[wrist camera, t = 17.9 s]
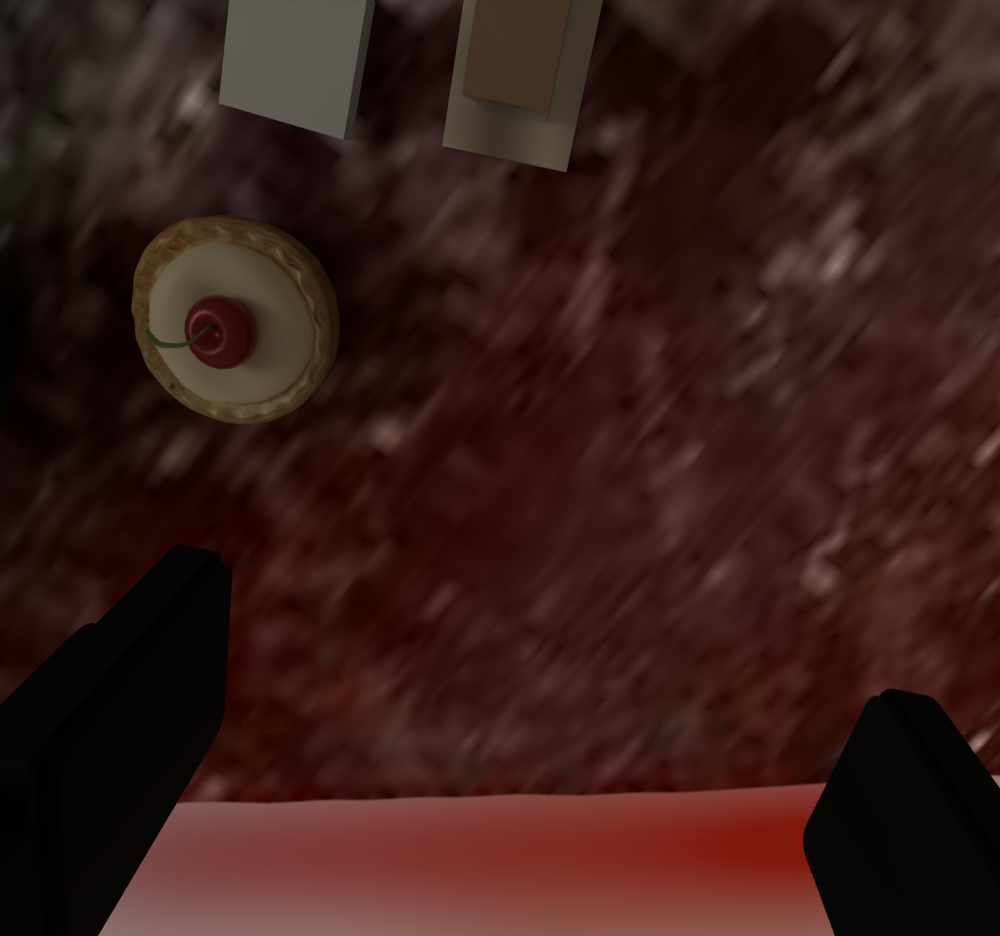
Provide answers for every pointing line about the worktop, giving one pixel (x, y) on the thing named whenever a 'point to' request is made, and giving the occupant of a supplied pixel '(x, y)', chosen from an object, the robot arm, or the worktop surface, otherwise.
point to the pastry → (234, 317)
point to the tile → (297, 61)
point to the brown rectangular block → (515, 55)
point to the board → (517, 134)
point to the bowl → (4, 357)
